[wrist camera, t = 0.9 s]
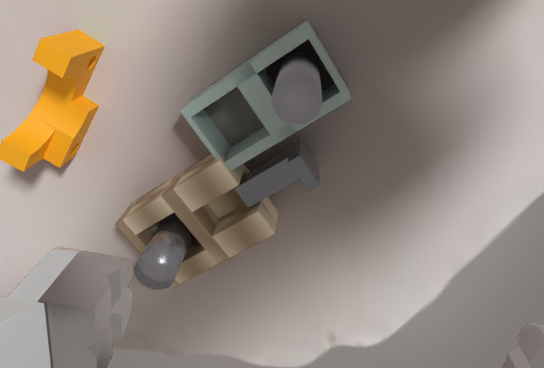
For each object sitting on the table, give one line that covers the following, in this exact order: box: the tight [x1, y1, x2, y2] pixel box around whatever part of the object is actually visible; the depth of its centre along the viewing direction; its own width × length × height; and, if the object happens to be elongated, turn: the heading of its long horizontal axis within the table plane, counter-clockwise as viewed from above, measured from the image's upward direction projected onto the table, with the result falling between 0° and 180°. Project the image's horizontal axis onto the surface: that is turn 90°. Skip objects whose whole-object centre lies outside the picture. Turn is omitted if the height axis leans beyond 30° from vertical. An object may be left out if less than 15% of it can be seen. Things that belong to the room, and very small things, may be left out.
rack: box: [180, 19, 351, 171], centre depth 36 cm, size 13×7×10 cm, turn 124°
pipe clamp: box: [0, 30, 104, 172], centre depth 39 cm, size 12×4×6 cm, turn 147°
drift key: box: [234, 137, 319, 208], centre depth 40 cm, size 8×3×5 cm, turn 124°
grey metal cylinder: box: [135, 212, 194, 289], centre depth 43 cm, size 4×4×10 cm
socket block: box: [115, 152, 278, 288], centre depth 44 cm, size 13×9×4 cm
